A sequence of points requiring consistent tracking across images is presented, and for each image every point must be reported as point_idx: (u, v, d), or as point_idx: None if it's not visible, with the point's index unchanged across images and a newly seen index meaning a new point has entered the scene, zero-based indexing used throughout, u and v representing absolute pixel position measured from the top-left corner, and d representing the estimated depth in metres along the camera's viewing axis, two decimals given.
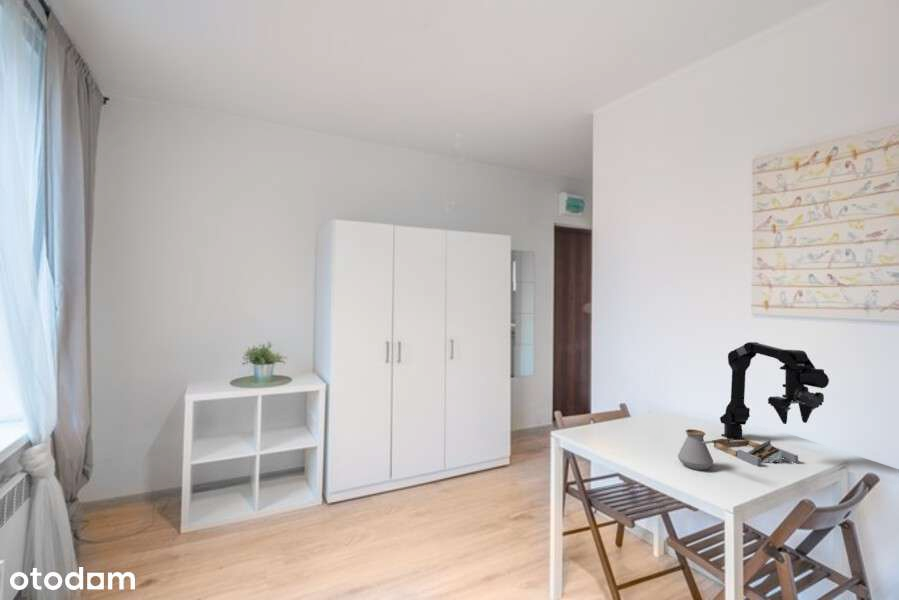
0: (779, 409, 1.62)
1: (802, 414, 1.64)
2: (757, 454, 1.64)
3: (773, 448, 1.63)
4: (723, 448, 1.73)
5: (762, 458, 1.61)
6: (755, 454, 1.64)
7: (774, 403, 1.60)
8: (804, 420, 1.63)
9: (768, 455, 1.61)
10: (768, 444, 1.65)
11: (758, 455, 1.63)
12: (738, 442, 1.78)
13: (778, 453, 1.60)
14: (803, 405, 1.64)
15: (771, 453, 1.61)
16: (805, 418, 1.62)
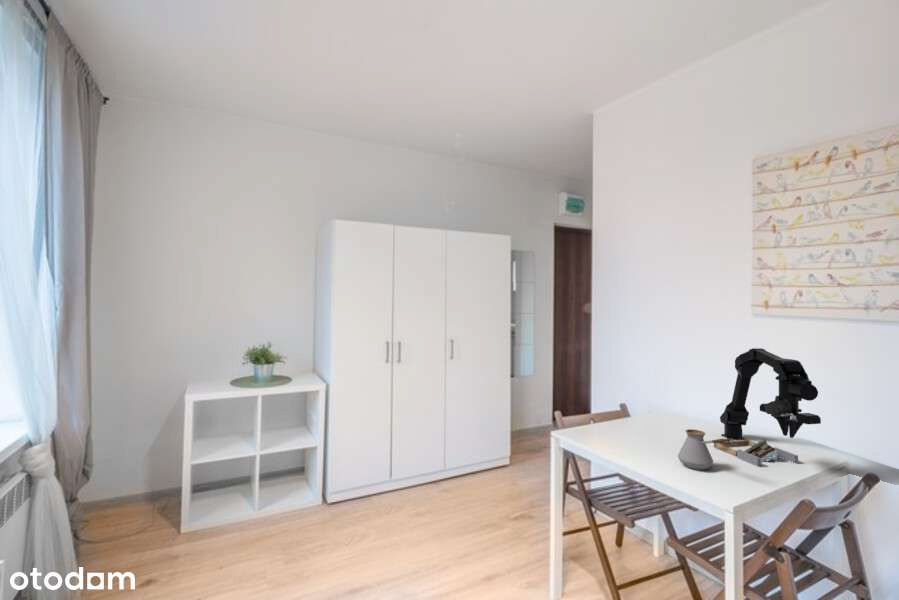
0: None
1: None
2: (753, 453, 1.65)
3: (769, 447, 1.64)
4: (723, 448, 1.73)
5: None
6: (751, 453, 1.65)
7: None
8: None
9: (765, 453, 1.63)
10: (764, 443, 1.66)
11: (754, 453, 1.64)
12: (738, 442, 1.78)
13: (774, 452, 1.62)
14: None
15: (767, 452, 1.63)
16: None
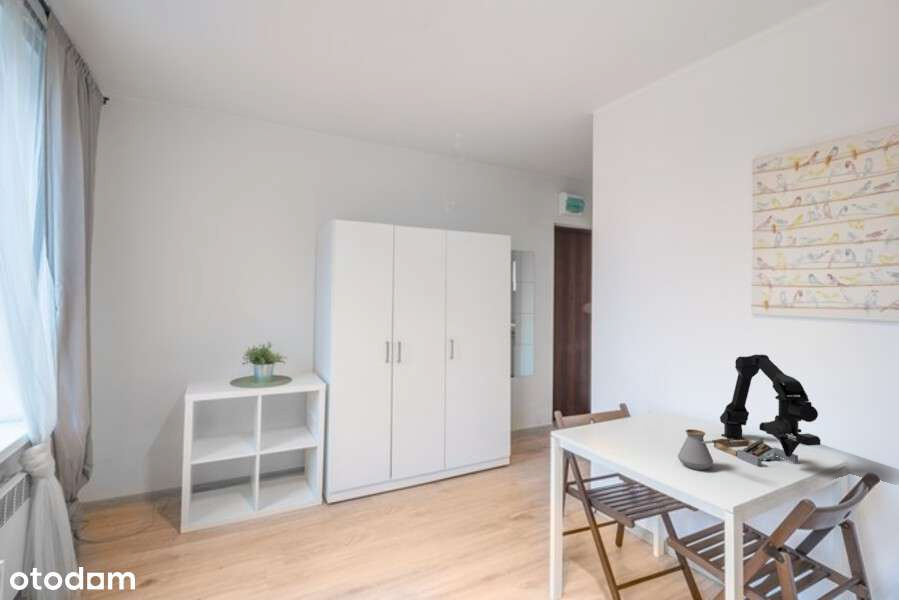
0: None
1: None
2: (750, 452, 1.66)
3: (766, 446, 1.65)
4: (723, 448, 1.73)
5: None
6: (748, 452, 1.66)
7: None
8: None
9: (762, 452, 1.63)
10: (761, 442, 1.67)
11: (751, 453, 1.65)
12: (738, 442, 1.78)
13: (771, 451, 1.63)
14: None
15: (764, 451, 1.64)
16: None
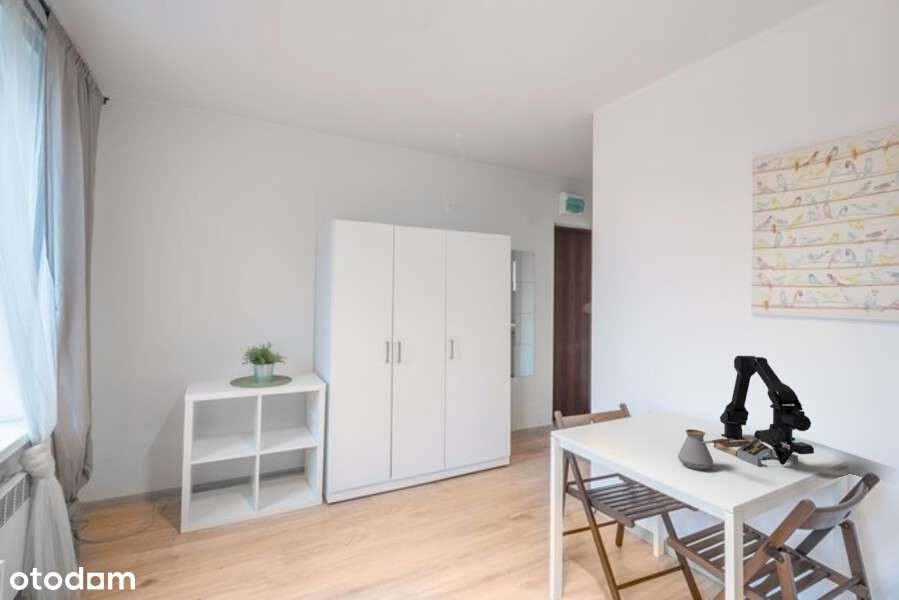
0: None
1: None
2: (747, 451, 1.67)
3: (762, 445, 1.66)
4: (723, 448, 1.73)
5: None
6: (744, 451, 1.67)
7: None
8: None
9: (758, 451, 1.65)
10: (757, 441, 1.69)
11: (747, 451, 1.67)
12: (738, 442, 1.78)
13: (767, 449, 1.64)
14: None
15: (760, 450, 1.65)
16: None
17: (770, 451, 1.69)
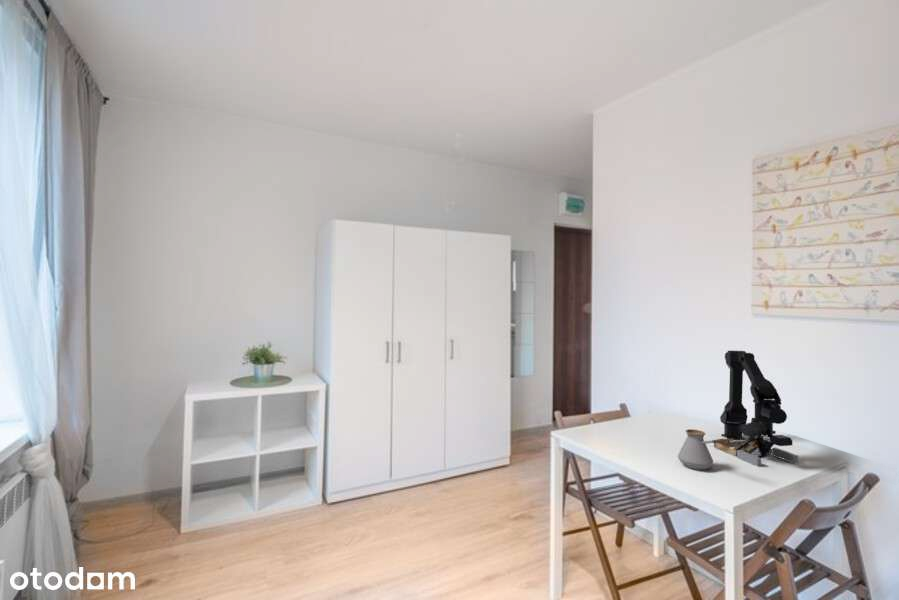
0: None
1: None
2: (742, 449, 1.69)
3: None
4: (723, 448, 1.73)
5: None
6: None
7: None
8: None
9: (753, 449, 1.67)
10: (752, 439, 1.70)
11: (743, 450, 1.68)
12: (738, 442, 1.78)
13: None
14: None
15: (755, 448, 1.67)
16: None
17: (770, 451, 1.69)
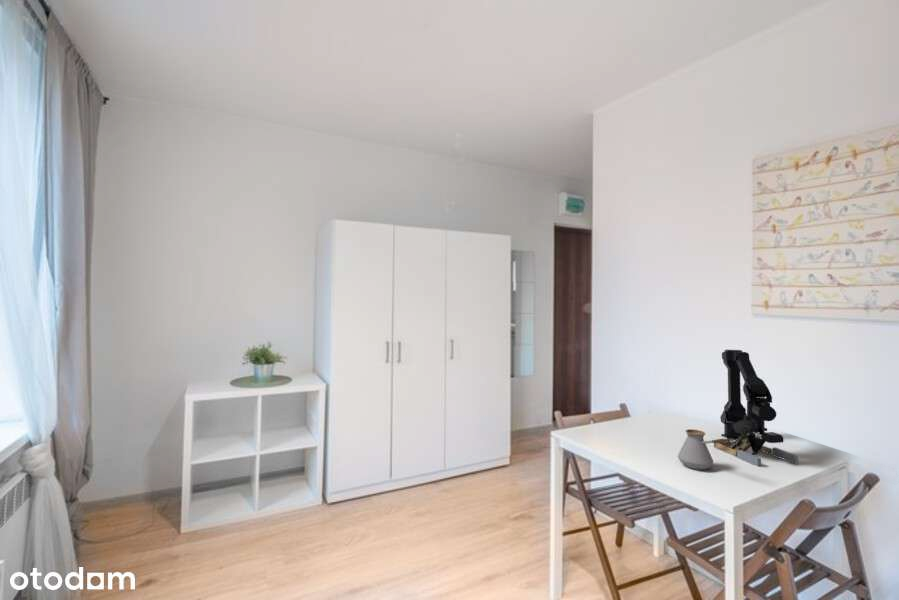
0: None
1: None
2: (737, 447, 1.71)
3: None
4: (723, 448, 1.73)
5: None
6: (735, 448, 1.71)
7: None
8: None
9: (748, 447, 1.70)
10: (744, 436, 1.74)
11: (738, 448, 1.71)
12: None
13: None
14: None
15: (749, 445, 1.70)
16: None
17: (770, 451, 1.69)
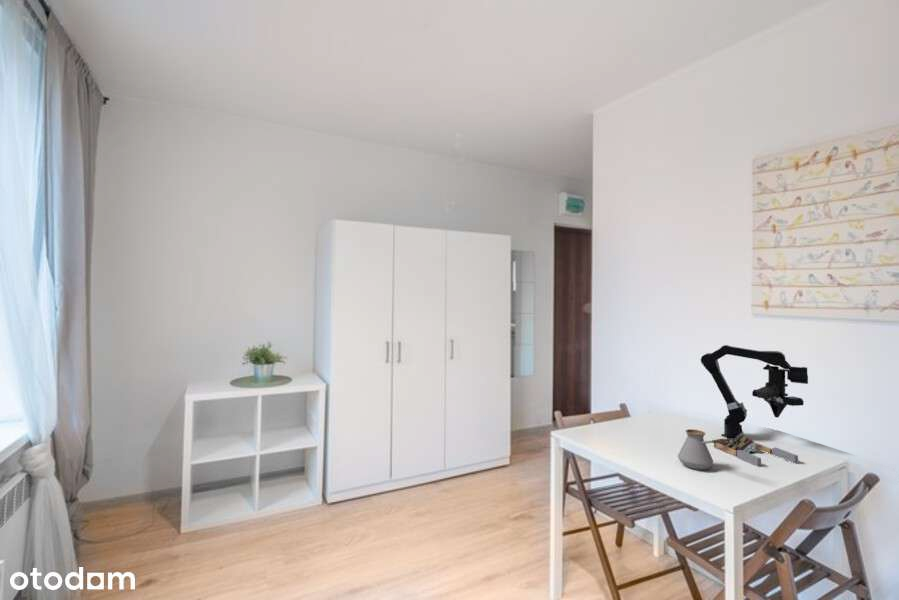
0: None
1: None
2: (734, 446, 1.73)
3: (747, 439, 1.73)
4: (723, 448, 1.73)
5: (740, 449, 1.70)
6: (732, 446, 1.73)
7: None
8: None
9: (745, 446, 1.71)
10: (742, 436, 1.75)
11: (735, 447, 1.72)
12: None
13: (753, 444, 1.71)
14: None
15: (746, 445, 1.71)
16: None
17: (770, 451, 1.69)
